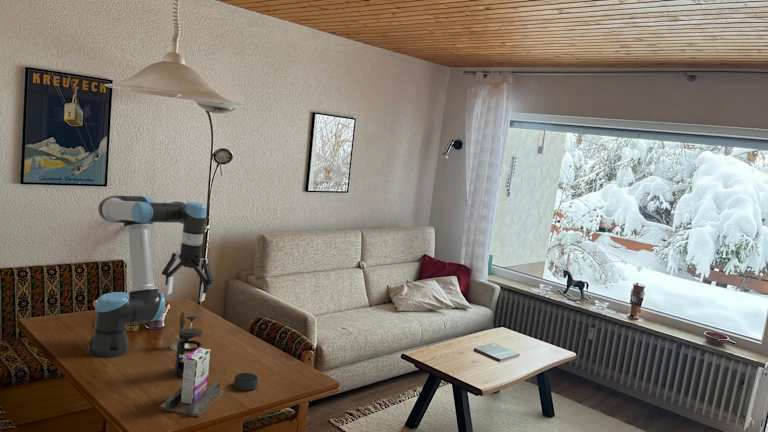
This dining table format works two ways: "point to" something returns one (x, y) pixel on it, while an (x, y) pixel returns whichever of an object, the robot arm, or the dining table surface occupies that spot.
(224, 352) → the dining table surface
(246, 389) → the smart speaker
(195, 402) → the sliding track
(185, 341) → the french press
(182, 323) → the hand bell
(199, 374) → the candy bar box
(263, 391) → the dining table surface
